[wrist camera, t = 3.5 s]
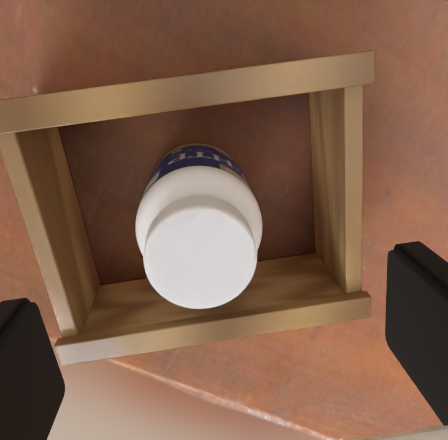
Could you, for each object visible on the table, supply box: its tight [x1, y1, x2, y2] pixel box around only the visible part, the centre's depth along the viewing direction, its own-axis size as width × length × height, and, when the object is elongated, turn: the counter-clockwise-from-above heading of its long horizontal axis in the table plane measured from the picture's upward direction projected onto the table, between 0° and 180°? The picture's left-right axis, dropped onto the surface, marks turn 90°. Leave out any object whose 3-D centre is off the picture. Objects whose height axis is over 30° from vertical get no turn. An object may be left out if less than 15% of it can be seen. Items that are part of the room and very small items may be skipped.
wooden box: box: [0, 50, 375, 366], centre depth 19 cm, size 15×12×6 cm
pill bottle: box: [135, 143, 262, 309], centre depth 18 cm, size 5×5×9 cm
